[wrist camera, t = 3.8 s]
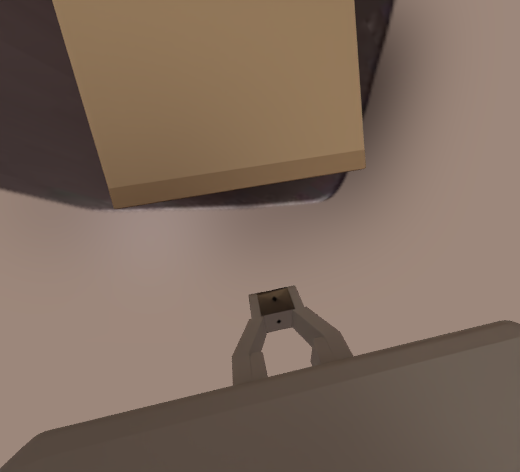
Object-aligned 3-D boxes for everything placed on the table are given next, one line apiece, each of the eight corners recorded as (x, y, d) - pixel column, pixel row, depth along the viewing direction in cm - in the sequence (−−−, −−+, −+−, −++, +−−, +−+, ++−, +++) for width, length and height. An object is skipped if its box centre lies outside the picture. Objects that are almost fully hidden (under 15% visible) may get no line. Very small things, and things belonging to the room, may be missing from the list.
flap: (119, 208, 16) (114, 208, 15) (42, -53, 13) (31, -67, 12) (361, 169, 17) (365, 167, 17) (344, -68, 14) (348, -80, 14)
